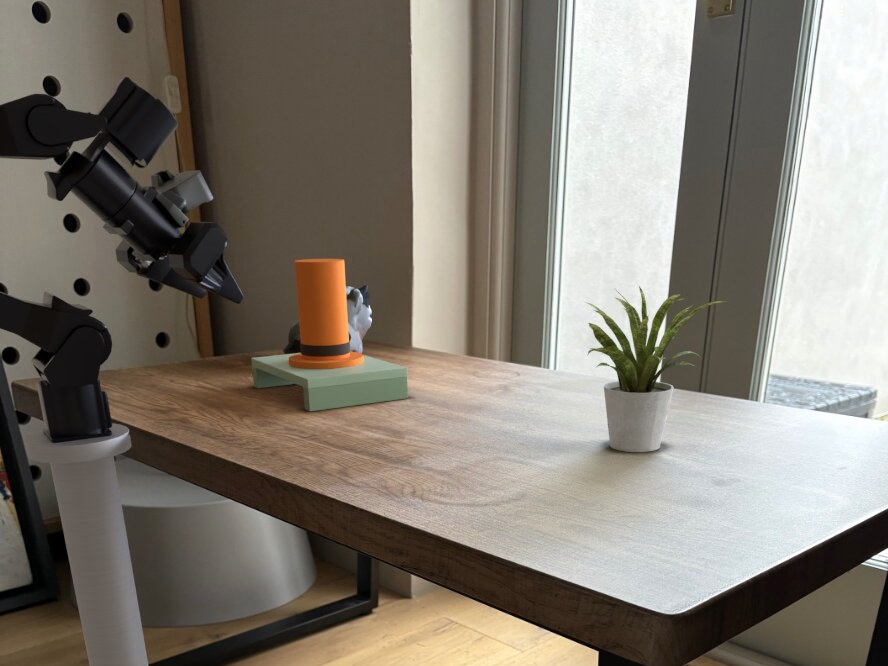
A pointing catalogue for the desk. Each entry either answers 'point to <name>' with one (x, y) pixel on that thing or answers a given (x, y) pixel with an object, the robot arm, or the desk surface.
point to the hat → (323, 316)
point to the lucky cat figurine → (356, 321)
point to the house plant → (639, 376)
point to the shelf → (334, 381)
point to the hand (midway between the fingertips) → (222, 297)
